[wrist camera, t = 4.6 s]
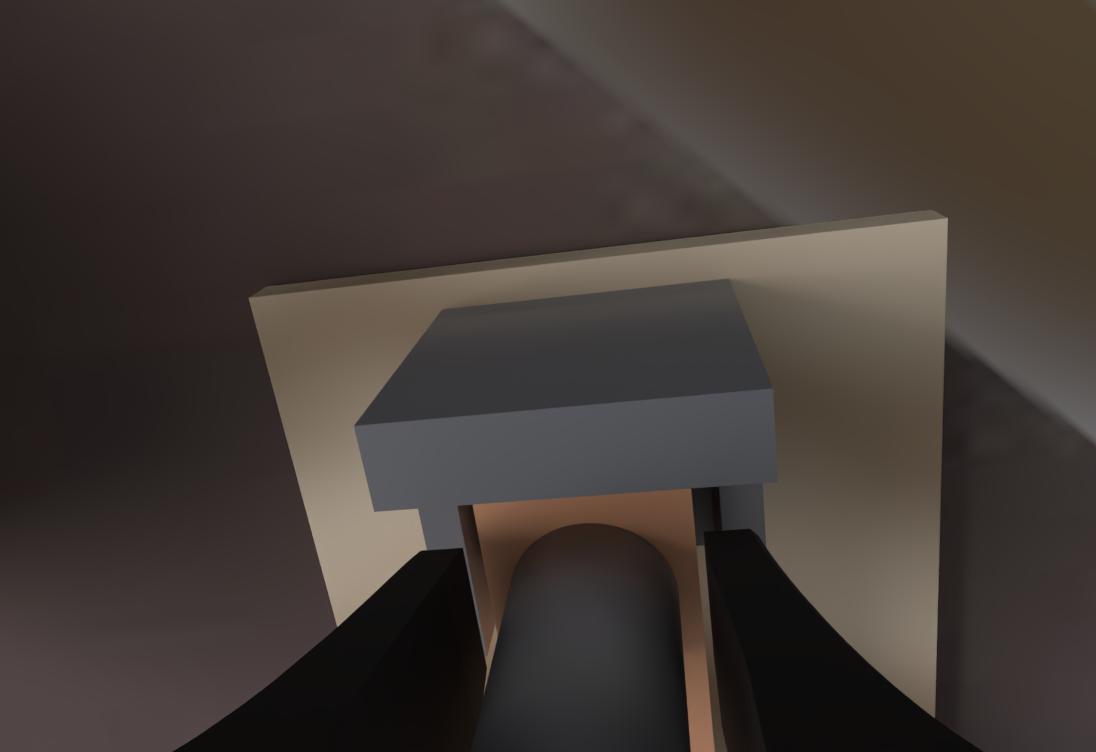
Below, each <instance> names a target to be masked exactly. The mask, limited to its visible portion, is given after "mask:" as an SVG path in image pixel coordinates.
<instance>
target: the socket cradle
mask: <svg viewBox="0 0 1096 752" xmlns="http://www.w3.org/2000/svg"><path fill="white" fill-rule="evenodd" d="M354 429H355V434H356V438H357V442H358V446H359V450H360V455H361V459H362V463H363V467H364V471H365V475H366V480H367V484H368V488H369V492H370V496H371V501H372V505H373V509H374V512H380V511H393V510H407V509H418V512H419V516H420V521H421V525H422V530H423V535H424V539H425V544H426V548H427V550H438V549H453V548H463V551H464V556H465V561H466V566H467V571H468V576H469V581H470V585H471V590H472V595H473V600H474V605H475V610H476V615H477V620H478V625H479V630H480V635H481V640H482V645H483V650H484V655H485V657H487V656H488V652H489V648H490V643H491V639H492V635H493V631H494V627H495V620H494V614H493V609H492V604H491V599H490V593H489V588H488V583H487V578H486V573H485V567H484V562H483V557H482V552H481V547H480V541H479V536H478V531H477V526H476V520H475V515H474V510H473V505H474V504H488V503H501V502H515V501H528V500H542V499H555V498H569V497H582V496H596V495H609V494H623V493H636V492H650V491H663V490H677V489H690V488H691V492H692V503H693V515H694V526H695V537H696V546H703V545H704V536H703V532H707V531H722V530H737V529H751V530H752V531H754V532H755V533H756V534H757V535H758V536H759V537H760V539H761V540H762V542H763V543H764V545H765V546H766V533H765V515H764V497H763V483H771V482H778V478H777V458H776V438H775V417H774V397H773V387H772V385H771V382H770V380H769V377H768V375H767V372H766V370H765V367H764V365H763V362H762V360H761V357H760V355H759V352H758V350H757V347H756V345H755V342H754V340H753V337H752V335H751V332H750V330H749V327H748V325H747V322H746V320H745V317H744V315H743V313H742V310H741V308H740V305H739V303H738V300H737V298H736V295H735V293H734V290H733V288H732V285H731V283H730V280H729V278H728V279H719V280H710V281H700V282H691V283H682V284H673V285H663V286H654V287H645V288H636V289H626V290H617V291H608V292H599V293H590V294H580V295H571V296H562V297H553V298H543V299H534V300H525V301H516V302H506V303H497V304H488V305H479V306H469V307H460V308H451V309H442V310H441V312H440V313H439V314H438V316H437V317H436V318H435V319H434V321H433V322H432V323H431V325H430V326H429V327H428V329H427V330H426V331H425V333H424V334H423V335H422V337H421V338H420V339H419V341H418V342H417V343H416V345H415V346H414V347H413V348H412V350H411V351H410V352H409V354H408V355H407V356H406V358H405V359H404V360H403V362H402V363H401V364H400V366H399V367H398V368H397V370H396V371H395V372H394V374H393V375H392V376H391V377H390V379H389V380H388V381H387V383H386V384H385V385H384V387H383V388H382V389H381V391H380V392H379V393H378V395H377V396H376V397H375V399H374V400H373V401H372V403H371V404H370V405H369V406H368V408H367V409H366V410H365V412H364V413H363V414H362V416H361V417H360V418H359V420H358V421H357V422H356V424H355V425H354Z"/></svg>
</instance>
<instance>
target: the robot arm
mask: <svg viewBox="0 0 1096 752" xmlns="http://www.w3.org/2000/svg"><path fill="white" fill-rule="evenodd" d="M703 536H704V547H705V559H706V571H707V582H708V594H709V606H710V617H711V629H712V641H713V653H714V663H715V671H716V680H717V689H718V697H719V706H720V714H721V723H722V730H723V734H724V739H725V744H726V748H727V752H983V751H981V750H980V749H978V748H977V747H975V746H974V745H972V744H971V743H969V742H968V741H966V740H965V739H963V738H962V737H960V736H959V735H957V734H956V733H954V732H953V731H951V730H950V729H949V728H947V727H946V726H945V725H943V724H942V723H941V722H939V721H938V720H936V719H935V718H934V717H932V716H931V715H930V714H928V713H927V712H926V711H925V710H924V709H922V708H921V707H920V706H919V705H917V704H916V703H915V702H914V701H912V700H911V699H910V698H909V697H907V696H906V695H905V694H904V693H903V692H901V691H900V690H899V689H898V688H897V687H895V686H894V685H893V684H892V683H891V682H890V681H888V680H887V679H886V678H885V677H884V676H883V675H882V674H881V673H879V672H878V671H877V670H876V669H875V668H874V667H873V666H872V665H871V664H869V663H868V662H867V661H866V660H865V659H864V658H863V657H862V656H861V655H860V654H859V653H858V652H857V651H856V650H855V649H854V648H853V647H852V646H851V645H850V644H849V643H848V642H847V641H846V640H845V639H844V638H843V637H842V636H841V635H840V634H839V633H838V632H837V631H836V630H835V629H834V628H833V627H832V626H831V625H830V624H829V623H828V622H827V621H826V620H825V619H824V617H823V616H822V615H821V614H820V613H819V612H818V611H817V610H816V609H815V607H814V606H813V605H812V604H811V603H810V602H809V601H808V600H807V599H806V598H805V596H804V595H803V594H802V593H801V592H800V591H799V589H798V588H797V587H796V586H795V585H794V583H793V582H792V581H791V580H790V578H789V577H788V576H787V575H786V573H785V572H784V571H783V570H782V568H781V567H780V566H779V565H778V563H777V562H776V561H775V559H774V558H773V556H772V555H771V554H770V552H769V551H768V549H767V548H766V546H765V545H764V543H763V542H762V540H761V539H760V537H759V536H758V535H757V534H756V533H755V532H754V531H752V530H751V529H737V530H722V531H707V532H703ZM486 673H487V665H486V660H485V655H484V650H483V645H482V640H481V635H480V630H479V625H478V620H477V615H476V610H475V605H474V600H473V595H472V590H471V585H470V581H469V576H468V571H467V566H466V561H465V556H464V551H463V548H453V549H438V550H423V551H420V552H418V553H417V554H416V555H415V556H414V557H412V558H411V559H410V560H409V561H408V562H407V563H406V564H405V565H403V566H402V567H401V568H400V569H399V570H398V571H397V572H396V573H395V574H394V575H393V576H392V577H391V578H390V579H388V580H387V581H386V582H385V583H384V584H383V585H382V586H381V587H380V588H379V589H378V590H377V591H376V592H375V593H374V594H373V595H372V596H370V597H369V598H368V599H367V600H366V601H365V602H364V603H363V604H362V605H361V606H360V607H359V608H358V609H356V610H355V611H354V612H353V613H352V614H351V615H350V616H349V617H348V618H347V619H346V620H345V621H343V622H342V623H341V624H340V625H339V626H338V627H337V628H336V629H335V630H334V631H333V632H331V633H330V634H329V635H328V636H327V637H326V638H325V639H323V640H322V641H321V642H320V643H319V644H317V645H316V646H315V647H314V648H313V649H311V650H310V651H309V652H308V653H307V654H306V655H304V656H303V657H302V658H301V659H300V660H298V661H297V662H296V663H295V664H294V665H292V666H291V667H290V668H289V669H288V670H286V671H285V672H284V673H283V674H282V675H281V676H279V677H278V678H277V679H276V680H275V681H273V682H272V683H271V684H269V685H268V686H267V687H266V688H264V689H263V690H262V691H260V692H259V693H258V694H256V695H255V696H254V697H252V698H251V699H250V700H248V701H247V702H246V703H244V704H243V705H242V706H240V707H239V708H237V709H236V710H235V711H233V712H232V713H230V714H229V715H228V716H226V717H225V718H223V719H222V720H220V721H219V722H218V723H216V724H215V725H213V726H212V727H210V728H209V729H208V730H206V731H205V732H203V733H202V734H200V735H199V736H197V737H196V738H194V739H193V740H191V741H189V742H188V743H186V744H185V745H183V746H181V747H180V748H178V749H176V750H175V751H173V752H471V747H472V743H473V738H474V734H475V730H476V726H477V722H478V717H479V713H480V709H481V705H482V701H483V697H484V689H485V681H486Z"/></svg>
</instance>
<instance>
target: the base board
mask: <svg viewBox="0 0 1096 752" xmlns="http://www.w3.org/2000/svg"><path fill="white" fill-rule="evenodd" d="M947 231H948V218H947V217H945V216H943V215H941V214H939V213H937V212H935V211H934V210H924V211H916V212H906V213H898V214H890V215H881V216H872V217H863V218H854V219H846V220H837V221H828V222H820V223H812V224H803V225H794V226H785V227H777V228H768V229H759V230H751V231H742V232H733V233H725V234H716V235H707V236H699V237H690V238H682V239H673V240H664V241H656V242H647V243H638V244H630V245H621V246H612V247H604V248H595V249H587V250H578V251H569V252H561V253H552V254H543V255H535V256H526V257H517V258H509V259H500V260H492V261H483V262H474V263H466V264H457V265H448V266H440V267H431V268H422V269H414V270H405V271H396V272H388V273H379V274H371V275H362V276H353V277H345V278H336V279H327V280H319V281H310V282H301V283H293V284H284V285H276V286H267V287H265V288H264V289H262V290H260V291H259V292H257V293H256V294H254V295H252V296H251V297H249V302H250V305H251V309H252V313H253V316H254V320H255V324H256V328H257V331H258V335H259V339H260V342H261V346H262V350H263V353H264V357H265V361H266V365H267V368H268V372H269V376H270V379H271V383H272V387H273V390H274V394H275V398H276V402H277V405H278V409H279V413H280V416H281V420H282V424H283V428H284V431H285V435H286V439H287V442H288V446H289V450H290V453H291V457H292V461H293V465H294V468H295V472H296V476H297V479H298V483H299V487H300V490H301V494H302V498H303V502H304V505H305V509H306V513H307V516H308V520H309V524H310V527H311V531H312V535H313V539H314V542H315V546H316V550H317V553H318V557H319V561H320V564H321V568H322V572H323V576H324V579H325V583H326V587H327V590H328V594H329V598H330V602H331V605H332V609H333V613H334V616H335V620H336V624H337V627H338V626H339V625H340V624H341V623H342V622H343V621H345V620H346V619H347V618H348V617H349V616H350V615H351V614H352V613H353V612H354V611H355V610H356V609H358V608H359V607H360V606H361V605H362V604H363V603H364V602H365V601H366V600H367V599H368V598H369V597H370V596H372V595H373V594H374V593H375V592H376V591H377V590H378V589H379V588H380V587H381V586H382V585H383V584H384V583H385V582H386V581H387V580H388V579H390V578H391V577H392V576H393V575H394V574H395V573H396V572H397V571H398V570H399V569H400V568H401V567H402V566H403V565H405V564H406V563H407V562H408V561H409V560H410V559H411V558H412V557H414V556H415V555H416V554H417V553H418V552H420V551H423V550H427V548H426V544H425V539H424V535H423V530H422V525H421V521H420V516H419V512H418V509H407V510H393V511H380V512H374V509H373V505H372V501H371V496H370V492H369V488H368V484H367V480H366V475H365V471H364V467H363V463H362V459H361V455H360V450H359V446H358V442H357V438H356V434H355V429H354V425H355V424H356V422H357V421H358V420H359V418H360V417H361V416H362V414H363V413H364V412H365V410H366V409H367V408H368V406H369V405H370V404H371V403H372V401H373V400H374V399H375V397H376V396H377V395H378V393H379V392H380V391H381V389H382V388H383V387H384V385H385V384H386V383H387V381H388V380H389V379H390V377H391V376H392V375H393V374H394V372H395V371H396V370H397V368H398V367H399V366H400V364H401V363H402V362H403V360H404V359H405V358H406V356H407V355H408V354H409V352H410V351H411V350H412V348H413V347H414V346H415V345H416V343H417V342H418V341H419V339H420V338H421V337H422V335H423V334H424V333H425V331H426V330H427V329H428V327H429V326H430V325H431V323H432V322H433V321H434V319H435V318H436V317H437V316H438V314H439V313H440V312H441V310H442V309H451V308H460V307H469V306H479V305H488V304H497V303H506V302H516V301H525V300H534V299H543V298H553V297H562V296H571V295H580V294H590V293H599V292H608V291H617V290H626V289H636V288H645V287H654V286H663V285H673V284H682V283H691V282H700V281H710V280H719V279H728V278H729V280H730V283H731V285H732V288H733V290H734V293H735V295H736V298H737V300H738V303H739V305H740V308H741V310H742V313H743V315H744V317H745V320H746V322H747V325H748V327H749V330H750V332H751V335H752V337H753V340H754V342H755V345H756V347H757V350H758V352H759V355H760V357H761V360H762V362H763V365H764V367H765V370H766V372H767V375H768V377H769V380H770V382H771V385H772V387H773V397H774V417H775V438H776V458H777V478H778V482H771V483H763V497H764V515H765V533H766V548H767V549H768V551H769V552H770V554H771V555H772V556H773V558H774V559H775V561H776V562H777V563H778V565H779V566H780V567H781V568H782V570H783V571H784V572H785V573H786V575H787V576H788V577H789V578H790V580H791V581H792V582H793V583H794V585H795V586H796V587H797V588H798V589H799V591H800V592H801V593H802V594H803V595H804V596H805V598H806V599H807V600H808V601H809V602H810V603H811V604H812V605H813V606H814V607H815V609H816V610H817V611H818V612H819V613H820V614H821V615H822V616H823V617H824V619H825V620H826V621H827V622H828V623H829V624H830V625H831V626H832V627H833V628H834V629H835V630H836V631H837V632H838V633H839V634H840V635H841V636H842V637H843V638H844V639H845V640H846V641H847V642H848V643H849V644H850V645H851V646H852V647H853V648H854V649H855V650H856V651H857V652H858V653H859V654H860V655H861V656H862V657H863V658H864V659H865V660H866V661H867V662H868V663H869V664H871V665H872V666H873V667H874V668H875V669H876V670H877V671H878V672H879V673H881V674H882V675H883V676H884V677H885V678H886V679H887V680H888V681H890V682H891V683H892V684H893V685H894V686H895V687H897V688H898V689H899V690H900V691H901V692H903V693H904V694H905V695H906V696H907V697H909V698H910V699H911V700H912V701H914V702H915V703H916V704H917V705H919V706H920V707H921V708H922V709H924V710H925V711H926V712H927V713H928V714H930V715H931V716H932V717H934V718H935V696H936V658H937V620H938V581H939V543H940V504H941V466H942V427H943V389H944V350H945V312H946V273H947V235H948V232H947ZM696 548H697V559H698V571H699V582H700V593H701V604H702V615H703V627H704V638H705V649H706V660H707V671H708V682H709V694H710V705H711V716H712V727H713V738H714V750H715V752H727V748H726V744H725V739H724V734H723V730H722V723H721V714H720V706H719V697H718V689H717V680H716V671H715V663H714V653H713V641H712V629H711V617H710V606H709V594H708V582H707V571H706V559H705V547H704V545H703V546H696ZM497 638H498V635H497V630H496V625H495V627H494V631H493V635H492V639H491V643H490V648H489V652H488V656H487V657H485V660H486V665H487V673H486V681H485V688H486V684H487V680H488V676H489V671H490V667H491V663H492V659H493V655H494V651H495V646H496V642H497ZM484 692H485V689H484Z"/></svg>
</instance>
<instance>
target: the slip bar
mask: <svg viewBox="0 0 1096 752" xmlns="http://www.w3.org/2000/svg"><path fill="white" fill-rule="evenodd" d="M473 510H474V515H475V520H476V526H477V531H478V536H479V541H480V547H481V552H482V557H483V562H484V567H485V573H486V578H487V583H488V588H489V593H490V599H491V604H492V609H493V614H494V620H495V625H496V630H497V635H498V638H497V642H496V646H495V651H494V655H493V659H492V663H491V667H490V671H489V676H488V680H487V684H486V688H485V692H484V697H483V701H482V705H481V709H480V713H479V717H478V722H477V726H476V730H475V734H474V738H473V743H472V747H471V752H715V750H714V738H713V727H712V716H711V705H710V694H709V682H708V671H707V660H706V649H705V638H704V627H703V615H702V604H701V593H700V582H699V571H698V559H697V548H696V537H695V526H694V515H693V503H692V492H691V488H690V489H677V490H663V491H650V492H636V493H623V494H609V495H596V496H582V497H569V498H555V499H542V500H528V501H515V502H501V503H488V504H474V505H473Z"/></svg>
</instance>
